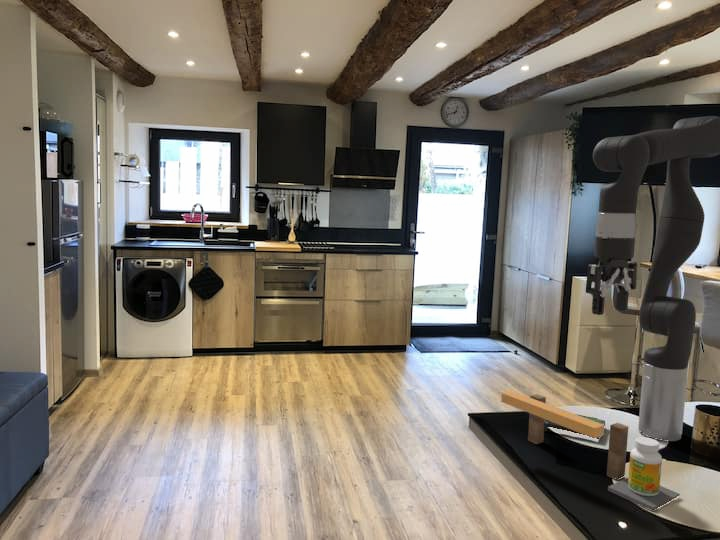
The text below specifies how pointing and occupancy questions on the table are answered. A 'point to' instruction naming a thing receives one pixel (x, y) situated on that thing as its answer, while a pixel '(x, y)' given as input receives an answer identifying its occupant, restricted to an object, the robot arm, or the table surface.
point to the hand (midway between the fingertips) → (609, 312)
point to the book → (646, 501)
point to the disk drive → (554, 425)
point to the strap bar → (554, 414)
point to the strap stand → (615, 441)
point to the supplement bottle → (645, 467)
